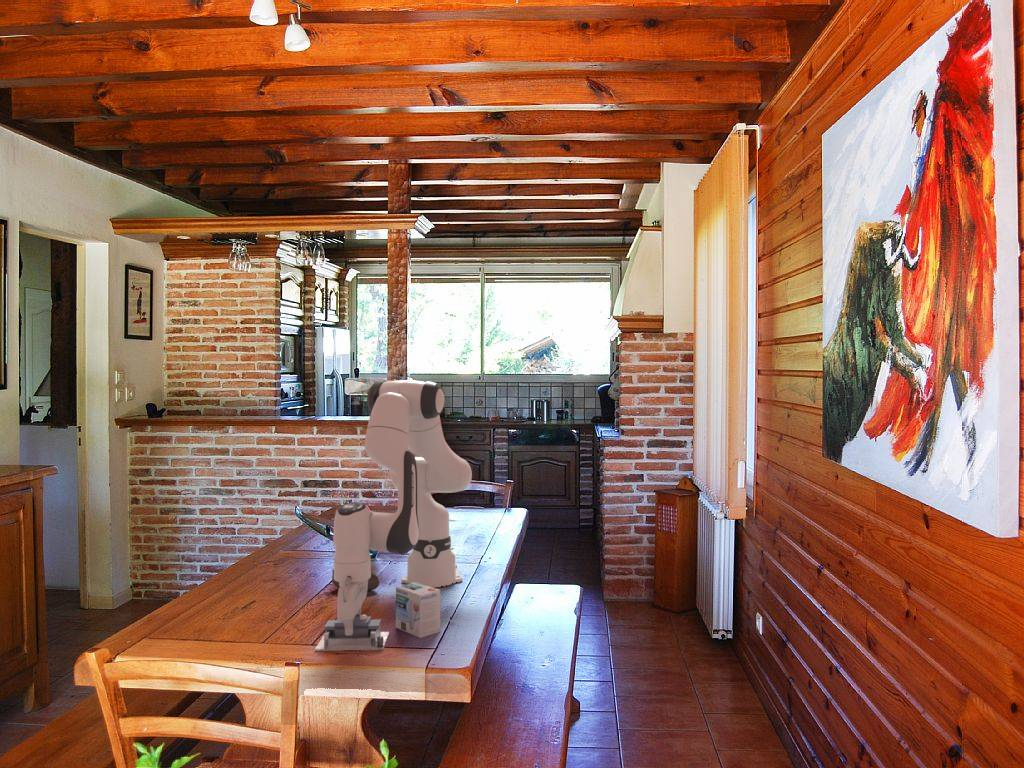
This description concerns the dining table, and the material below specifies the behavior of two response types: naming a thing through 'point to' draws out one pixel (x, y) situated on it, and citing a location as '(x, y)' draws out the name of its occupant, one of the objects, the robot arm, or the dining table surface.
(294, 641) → the dining table surface
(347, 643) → the chassis
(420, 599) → the light bulb box
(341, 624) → the servo
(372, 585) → the perforated stone tool
